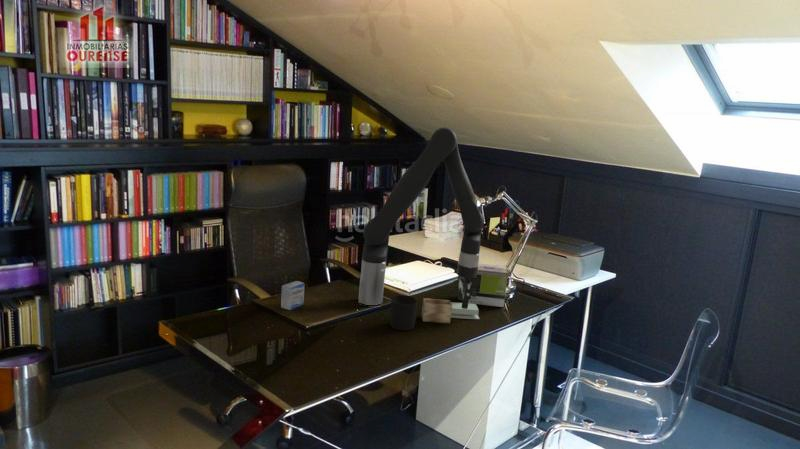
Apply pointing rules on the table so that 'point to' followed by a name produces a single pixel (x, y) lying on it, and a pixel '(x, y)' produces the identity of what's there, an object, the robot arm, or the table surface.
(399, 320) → the pen holder
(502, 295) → the tea box
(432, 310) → the box
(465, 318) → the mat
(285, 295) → the medicine box
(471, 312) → the lid
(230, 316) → the table surface
